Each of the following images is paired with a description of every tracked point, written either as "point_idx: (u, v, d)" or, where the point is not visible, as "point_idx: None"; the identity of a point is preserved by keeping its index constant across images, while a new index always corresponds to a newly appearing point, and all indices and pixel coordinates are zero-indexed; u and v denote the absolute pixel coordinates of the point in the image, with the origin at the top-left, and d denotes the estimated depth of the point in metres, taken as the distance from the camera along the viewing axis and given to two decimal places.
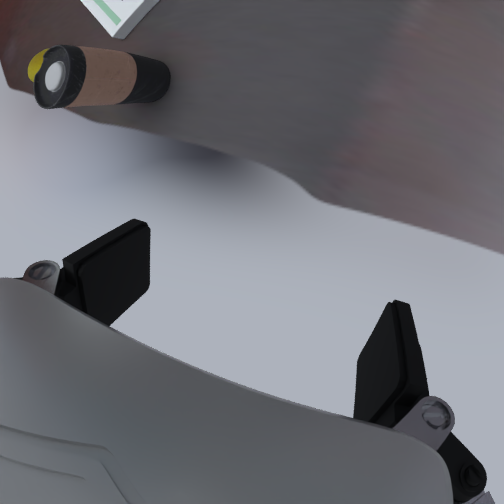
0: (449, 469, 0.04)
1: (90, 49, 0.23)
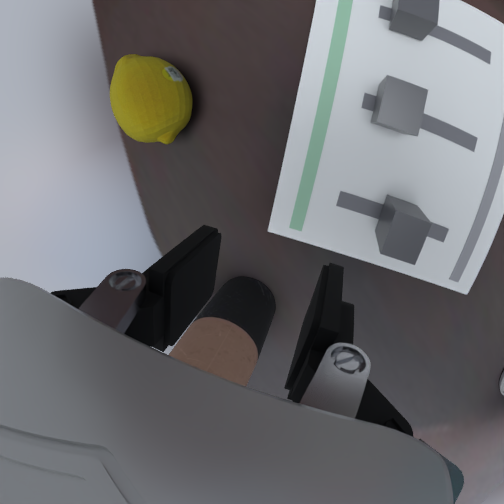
0: (364, 419, 0.06)
1: None
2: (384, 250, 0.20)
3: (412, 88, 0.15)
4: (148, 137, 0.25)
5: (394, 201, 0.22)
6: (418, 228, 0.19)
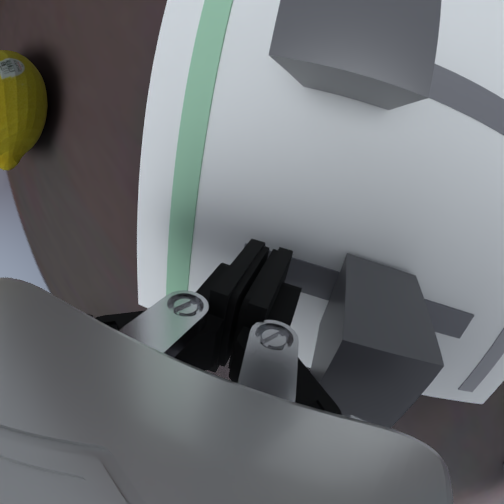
0: None
1: None
2: None
3: None
4: None
5: (357, 282, 0.09)
6: (404, 377, 0.07)
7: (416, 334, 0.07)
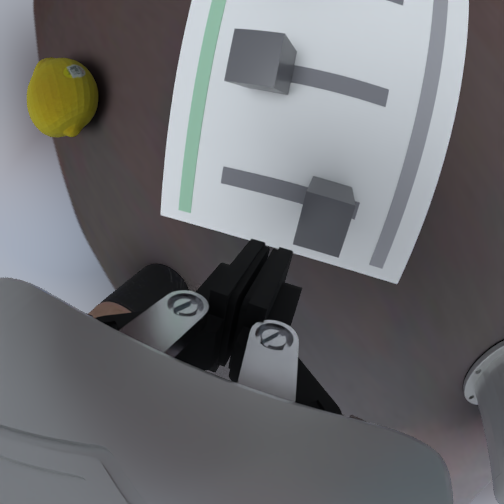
0: None
1: None
2: (297, 240, 0.18)
3: (264, 36, 0.14)
4: (54, 132, 0.23)
5: (316, 182, 0.19)
6: (338, 212, 0.17)
7: (343, 197, 0.17)
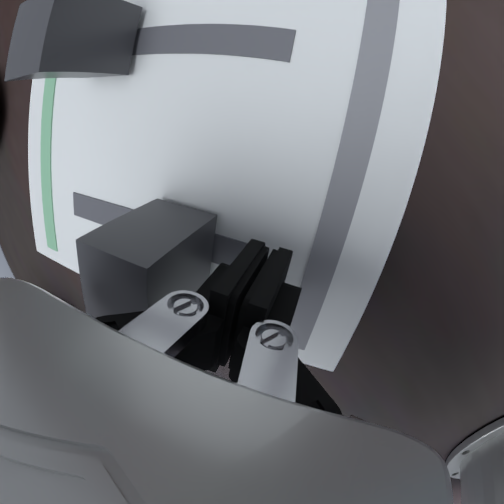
0: None
1: None
2: None
3: None
4: None
5: (136, 213, 0.11)
6: (123, 279, 0.08)
7: (146, 246, 0.09)
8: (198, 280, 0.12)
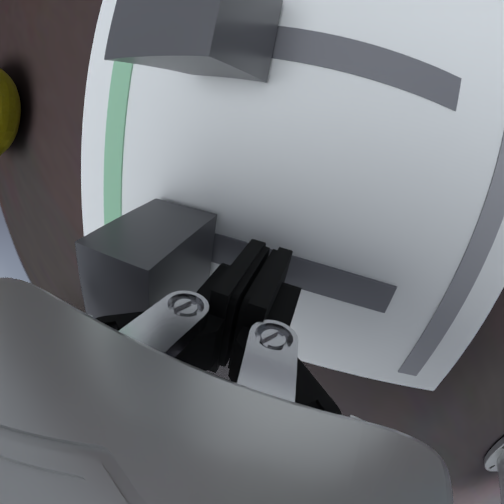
0: None
1: None
2: None
3: None
4: None
5: (135, 214, 0.11)
6: (124, 281, 0.08)
7: (147, 247, 0.09)
8: (198, 280, 0.12)
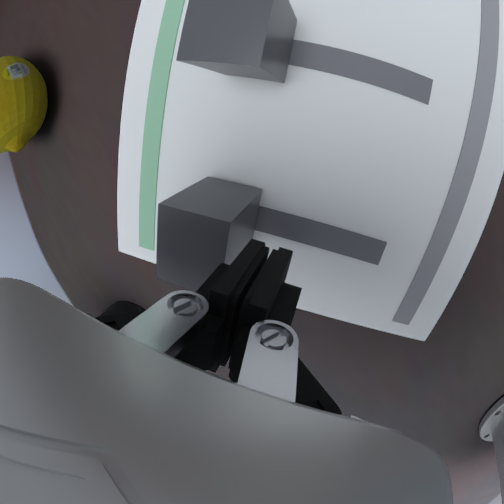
0: None
1: None
2: (160, 273, 0.13)
3: None
4: None
5: (198, 186, 0.14)
6: (205, 233, 0.11)
7: (221, 208, 0.12)
8: (247, 243, 0.15)
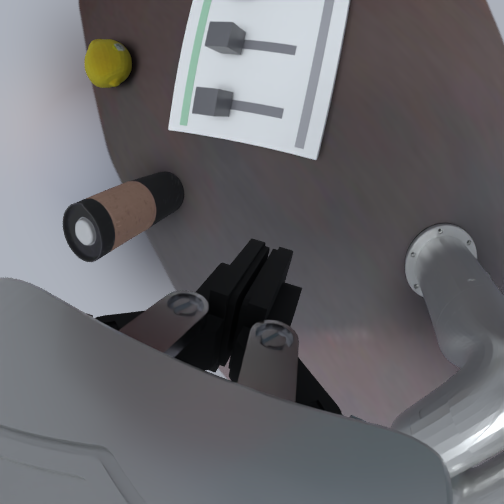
0: None
1: (123, 226, 0.34)
2: (193, 110, 0.33)
3: (223, 24, 0.27)
4: (103, 82, 0.37)
5: None
6: (210, 93, 0.32)
7: None
8: (226, 109, 0.36)
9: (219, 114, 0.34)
